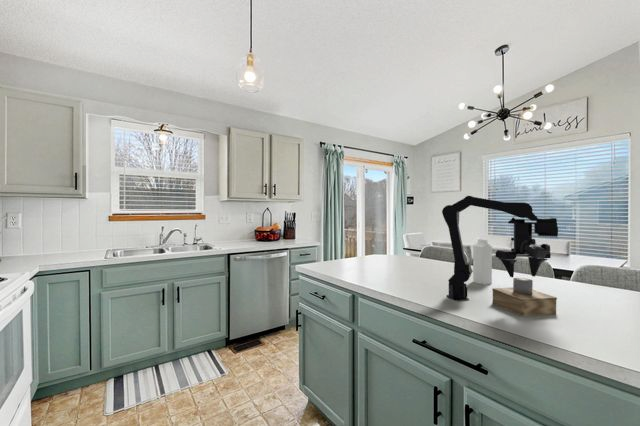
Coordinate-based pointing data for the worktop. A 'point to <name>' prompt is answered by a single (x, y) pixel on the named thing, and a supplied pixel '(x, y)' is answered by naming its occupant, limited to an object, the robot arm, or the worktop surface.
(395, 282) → the worktop surface
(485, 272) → the milk
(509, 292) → the lid
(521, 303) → the box
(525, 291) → the grey rounded block
